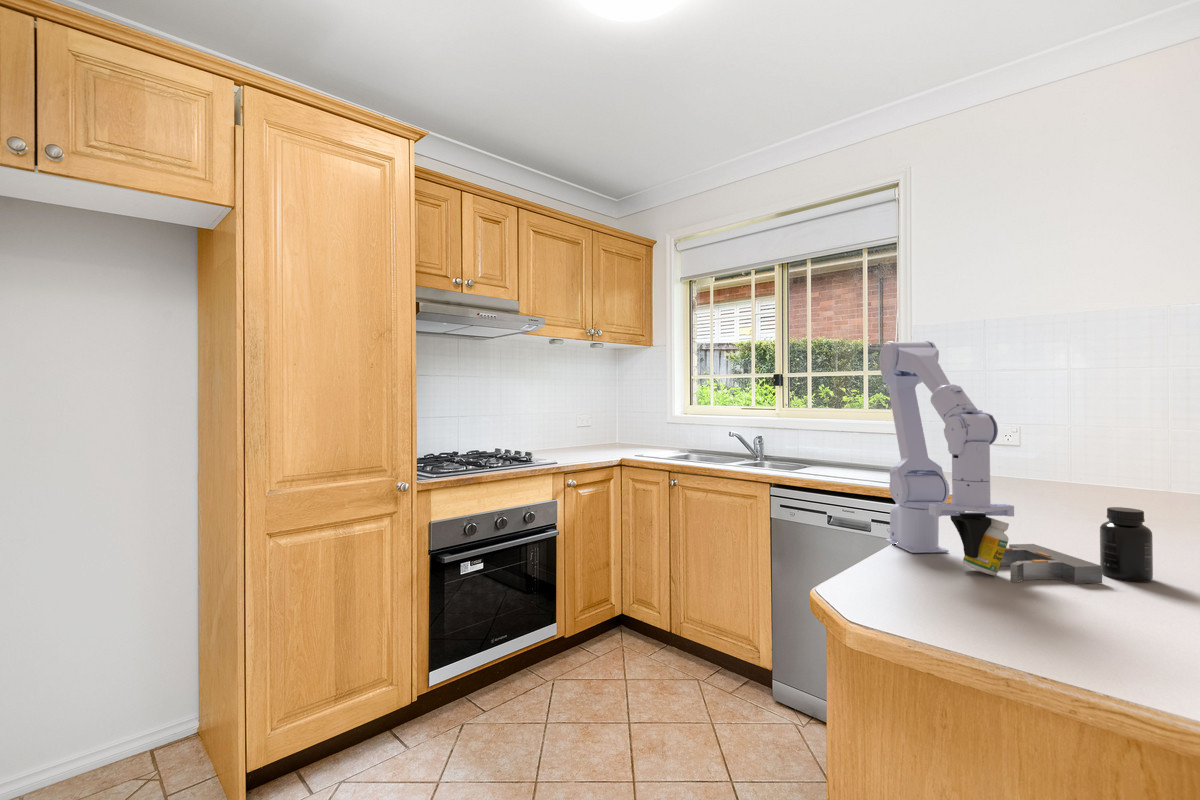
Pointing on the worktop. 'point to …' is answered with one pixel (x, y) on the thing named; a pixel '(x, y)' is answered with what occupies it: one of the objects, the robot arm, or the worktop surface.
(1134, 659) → the worktop surface
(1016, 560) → the grey pronged bracket
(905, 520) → the robot arm
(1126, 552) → the supplement bottle
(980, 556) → the supplement bottle
